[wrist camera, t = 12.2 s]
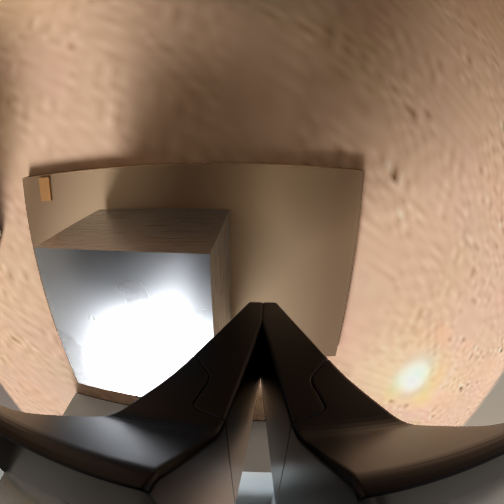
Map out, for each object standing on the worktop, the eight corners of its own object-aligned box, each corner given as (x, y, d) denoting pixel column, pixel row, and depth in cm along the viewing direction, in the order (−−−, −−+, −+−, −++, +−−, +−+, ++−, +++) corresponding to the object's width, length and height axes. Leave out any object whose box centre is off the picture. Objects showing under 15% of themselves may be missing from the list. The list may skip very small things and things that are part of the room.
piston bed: (360, 169, 10) (364, 171, 10) (333, 350, 13) (335, 357, 13) (28, 176, 11) (21, 178, 10) (60, 327, 14) (55, 332, 13)
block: (230, 209, 10) (209, 254, 7) (231, 331, 12) (218, 406, 8) (99, 209, 10) (33, 247, 7) (119, 321, 12) (78, 382, 9)
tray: (298, 421, 15) (302, 472, 12) (279, 498, 20) (279, 530, 17) (76, 392, 16) (53, 430, 12) (127, 479, 21) (118, 507, 17)
